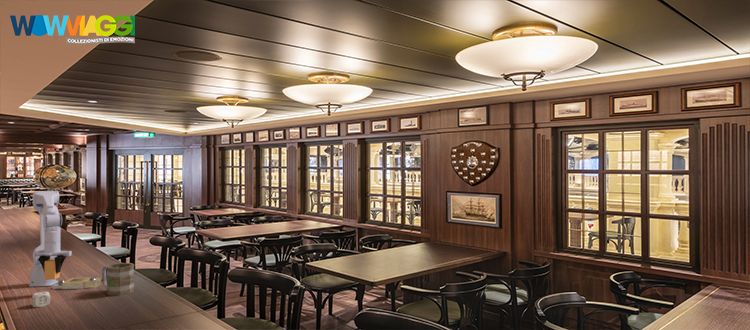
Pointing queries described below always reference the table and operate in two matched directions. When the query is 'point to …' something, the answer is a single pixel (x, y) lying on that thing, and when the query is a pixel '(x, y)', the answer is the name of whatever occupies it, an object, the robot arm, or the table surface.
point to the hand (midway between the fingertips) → (52, 272)
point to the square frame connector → (77, 283)
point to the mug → (119, 279)
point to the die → (40, 299)
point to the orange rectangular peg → (51, 270)
